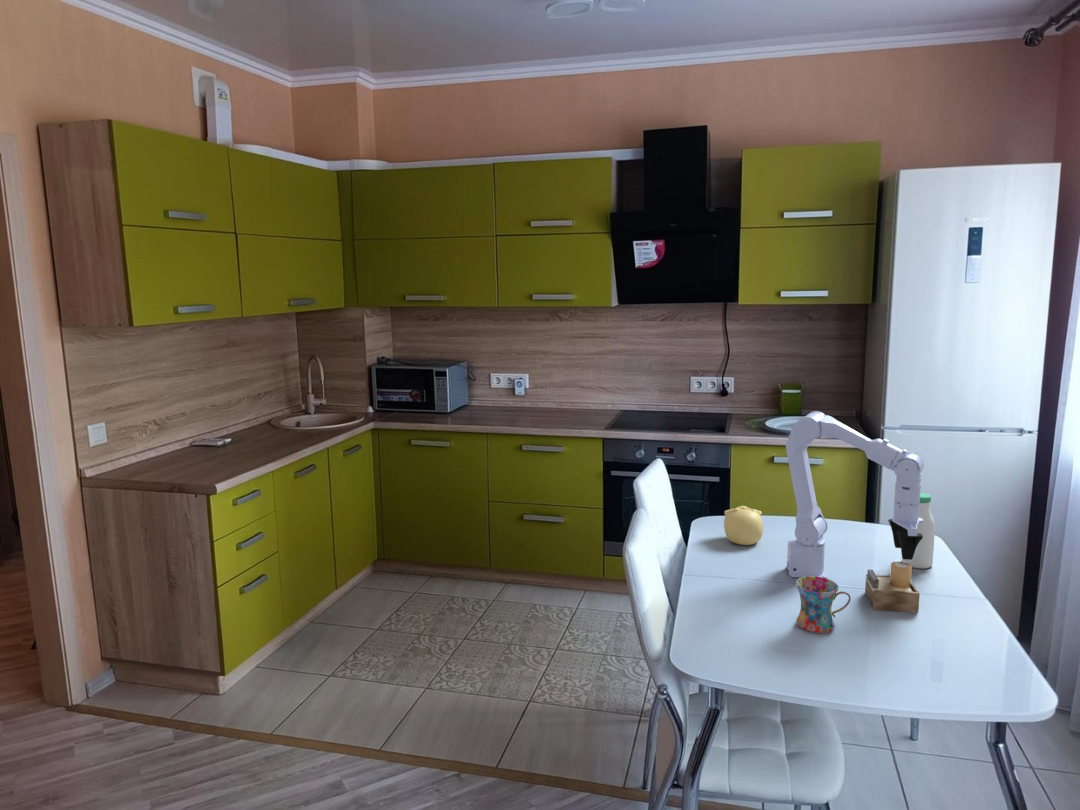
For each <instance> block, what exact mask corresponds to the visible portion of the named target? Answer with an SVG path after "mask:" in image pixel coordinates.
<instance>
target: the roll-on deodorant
mask: <svg viewBox="0 0 1080 810" xmlns="http://www.w3.org/2000/svg"><path fill="white" fill-rule="evenodd" d="M912 568H913V567H912V566H911V565H910V564H908V563H904V562H902V561H894V562H891V564H890V575H889V576H890V584H891V585H892V586H894V587H897V588H909V587H910V585H911V581H912Z"/></svg>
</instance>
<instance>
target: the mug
mask: <svg viewBox="0 0 1080 810" xmlns="http://www.w3.org/2000/svg"><path fill="white" fill-rule="evenodd" d="M795 585H796V587H797V590H798V593H799V597H800V611H799V614H798V616H797V618H796V620H795V621H796V624H797V626H798V627H800V628H801V629H803V630H804V631H807V632H810V633H817V634H822V633H823V634H825V633H829V632H831V631H833V630H834V629H835V627H836V624H835V621H834V620H833V618H836V615H835V614H836V613H839V612H841V611H843V610H845V608H847V607H848V606H849V604H850V602H851V599H852V598H851V595H850V593H848V592H846V591H838V590H839V588H840V587H839V585H838V584H837V582H835V581H834V580H831V579H829V578H828V577H827V578H823V577H816V576H808V577H802V578H800V577H798V579H797V580H796V581H795ZM839 595H846V596H847V597H848V599H847V601H846V603H845V604H844V605H843V606H842V607H840V608H838V609H836V610H834V611H832V607H833V602H834V601H835V600H836V598H837V597H838V596H839Z"/></svg>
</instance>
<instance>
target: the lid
mask: <svg viewBox="0 0 1080 810" xmlns="http://www.w3.org/2000/svg"><path fill="white" fill-rule="evenodd" d="M876 575H877V574H876V573H875V571H874V569H870V568H869V569H867V576H866V575H865V581H866V580H867V582H868V583H869V585H870V587H871V589H872V591H873V592H875V590H885V591H905V592H913V591H912V590H911V588H910V587H909V588H897V587H894V586H892V585H891V584H890V577H877V576H876Z"/></svg>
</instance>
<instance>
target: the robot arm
mask: <svg viewBox="0 0 1080 810" xmlns="http://www.w3.org/2000/svg"><path fill="white" fill-rule="evenodd" d="M819 436H820V439H821V440H822V439H823V440H824V439H831V438H832V439H833V438H834V439H835V438H836V439H837V440H840V441H841V442H844V443H845V444H849V445H851V446H853V447H855V448H857V449H860V450H862V451H863V452H864V453H865V455H866V458H867V459H869V460H870V461H872V462H874V463H876V464H878V465H880V466H882V467H884V468H886V469H887V470H890V471H894V472H893V473H894V474H895V476H896V481H895V484H894V499H893V501H894V502H893V512H892V513H893V515H892V517H891V518H889V519H888V520H887V521H888V523H889V525H890V528H891V532H892V537H893V543H894V548H895V549H900V552H901V559H902V558H903V559H907V560H912V558H913V556H914V553H915V550H916V547H917V545H918V543H919V542H920V541H921V539H922V538H923V535H922V534H921V533H917V531H918V529H917V527H918V524H919V523H923V519H922V518H918V517H919V503H920V493H921V488H922V485H921V481H922V478H921V473H922V471H923V469H924V460H923V458H921V456H920V455H918V454H917V453H916V452H913V451H908V450H907V449H901V448H898V447H897V446H895V445H893V444H891V443H889V442H890V440H889V439H886V438H883V439H881V438H875V439H871V438H870V437H867V436H865V435H863V434H862V433H860V432H858V431H856V430H855V429H853V428H851V427H849V426H848V425H846V424H844V423H842V422H841V421H839V420H837V419H836V418H834V417H833V416H830V415H829V414H827V415H826V414H825V413H823V412H821V411H819V410H818V411H816V410H815V411H811V412H809V413H808V414H807V415H805V416H803V417H801V418H799V419H798V420H797V421H796V422H795V423H794V424H793V425H792V426H791V431H790V433H789V436H788V438H787V441H786V443H785V451H786V456H787V461H788V467H789V471H790V476H791V477H790V478H791V483H792V486H793V487H792V488H793V492H794V493H793V494H794V497H795V503H796V509H797V511H796V514H795V523H796V525H795V529H794V536H795V539H794V540H789V541H788V542H787V559H786V568H787V571H788V573H789V577H791V578H802V577H808V576H816V577H823V578H827V579H828V576H827V574H826V573H827V572H825V548H826V546H825V545H826V539H825V538H824V534H825V533H826V532H827V529H828V522H827V520H826V518H825V517H824V515H823V513H822V509H821V507H819V506H818V505H819V504H818V502H817V497H816V492H815V487H814V482H813V481H814V480H813V475H812V471H811V466H810V461H809V460H810V459H809V455H808V451H807V450H808V447H809V446H810V445H811V444H812V442H813V441H815V440H816V439H817V438H818V437H819Z"/></svg>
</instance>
